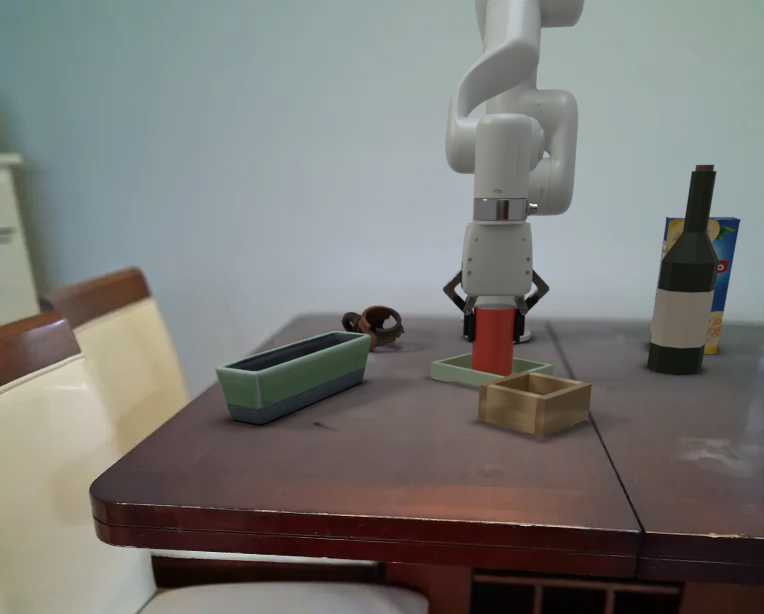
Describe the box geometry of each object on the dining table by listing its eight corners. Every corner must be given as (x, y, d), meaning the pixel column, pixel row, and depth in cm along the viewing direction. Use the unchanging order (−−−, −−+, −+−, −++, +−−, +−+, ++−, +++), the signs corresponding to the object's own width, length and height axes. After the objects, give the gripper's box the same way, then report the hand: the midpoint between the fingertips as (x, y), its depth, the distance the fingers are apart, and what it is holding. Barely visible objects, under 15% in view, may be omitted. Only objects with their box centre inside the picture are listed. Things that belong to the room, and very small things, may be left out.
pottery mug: (405, 343, 143) (412, 309, 136) (391, 375, 137) (397, 340, 130) (346, 325, 143) (349, 290, 137) (330, 356, 138) (333, 321, 131)
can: (462, 372, 114) (465, 306, 110) (488, 366, 118) (491, 301, 114) (494, 379, 110) (498, 310, 106) (519, 372, 114) (524, 305, 110)
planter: (261, 430, 93) (257, 373, 90) (217, 421, 96) (212, 366, 93) (373, 381, 115) (373, 334, 112) (334, 375, 118) (333, 329, 115)
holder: (477, 423, 95) (479, 384, 93) (524, 407, 101) (526, 370, 99) (542, 441, 88) (545, 399, 86) (587, 423, 94) (592, 383, 92)
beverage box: (648, 343, 138) (665, 216, 129) (711, 346, 136) (734, 217, 127) (650, 351, 132) (669, 218, 123) (716, 354, 130) (740, 219, 121)
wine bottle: (705, 375, 116) (742, 164, 104) (649, 373, 118) (679, 164, 105) (696, 363, 123) (729, 164, 111) (643, 361, 125) (670, 165, 113)
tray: (430, 378, 116) (430, 362, 115) (478, 366, 123) (478, 350, 122) (505, 396, 106) (506, 378, 105) (552, 381, 114) (553, 364, 112)
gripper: (555, 211, 108) (545, 335, 115) (437, 212, 108) (434, 336, 116) (566, 213, 101) (555, 345, 108) (439, 214, 102) (436, 346, 109)
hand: (493, 339), depth 112 cm, fingers closed on can, 6 cm apart
